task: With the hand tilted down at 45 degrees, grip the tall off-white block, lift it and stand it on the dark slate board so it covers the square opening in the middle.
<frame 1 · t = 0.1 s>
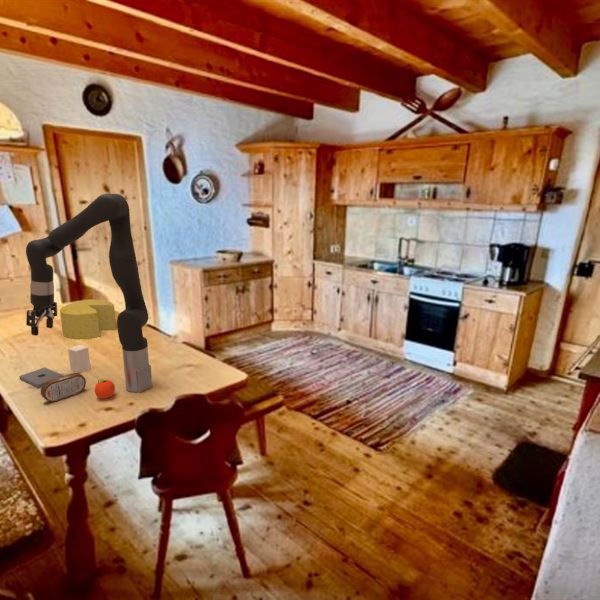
hand: (42, 331, 152), 22 cm above the table, tool pointing down, fingers open, 8 cm apart
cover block: (80, 369, 171), on the table
slate board: (42, 379, 161), on the table
cheese: (90, 331, 217), on the table
clementine: (105, 397, 150), on the table
tin: (65, 397, 148), on the table
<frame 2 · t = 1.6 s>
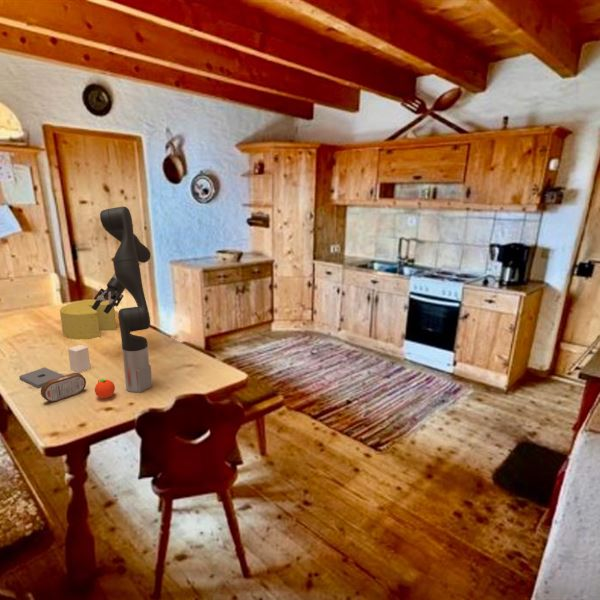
hand: (99, 310, 175), 24 cm above the table, tool tilted 45°, fingers open, 8 cm apart
nothing on the table moved.
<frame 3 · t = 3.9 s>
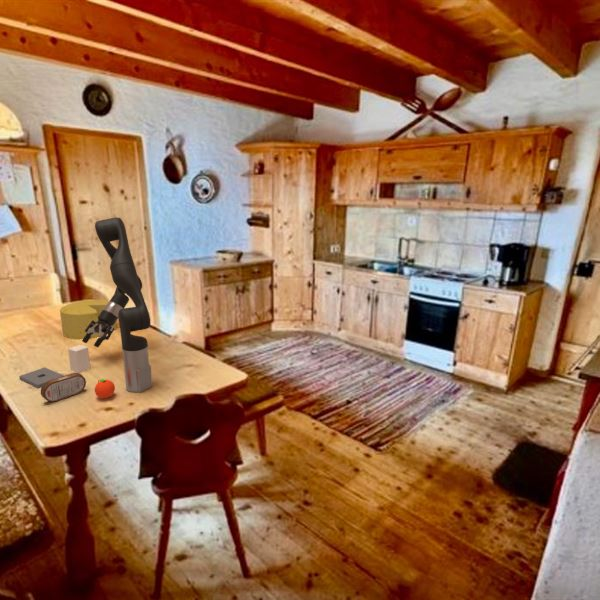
hand: (89, 344, 173), 10 cm above the table, tool tilted 45°, fingers open, 8 cm apart
nothing on the table moved.
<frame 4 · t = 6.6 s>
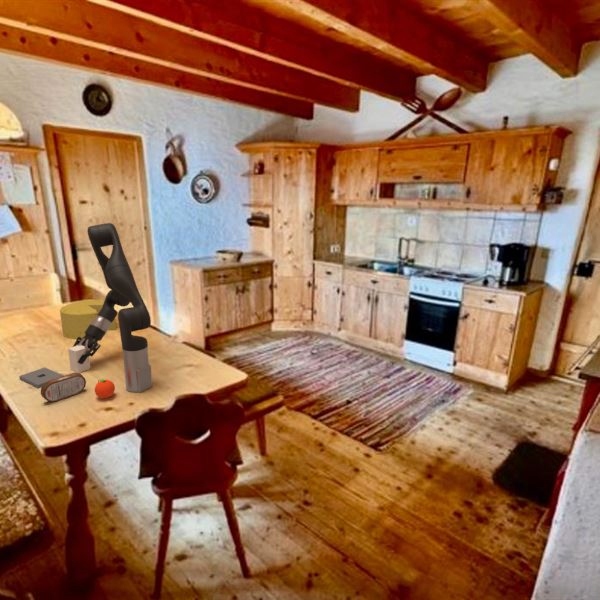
hand: (75, 361, 169), 4 cm above the table, tool tilted 45°, fingers closed on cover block, 5 cm apart
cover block: (80, 369, 171), on the table, touching gripper
everything else where it was.
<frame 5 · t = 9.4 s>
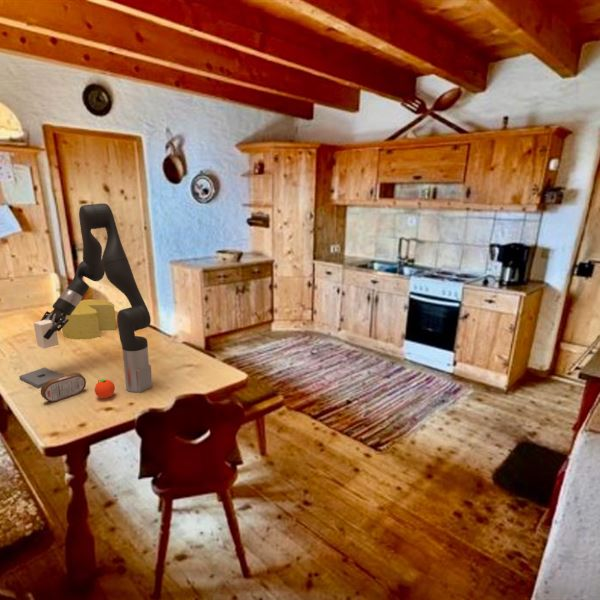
hand: (41, 336, 158), 18 cm above the table, tool tilted 45°, fingers closed on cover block, 5 cm apart
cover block: (48, 345, 161), point 14 cm above the table, touching gripper
everything else where it was.
when the fingers open (7 cm above the table, at t = 12.7 s): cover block drops 1 cm, resting on slate board.
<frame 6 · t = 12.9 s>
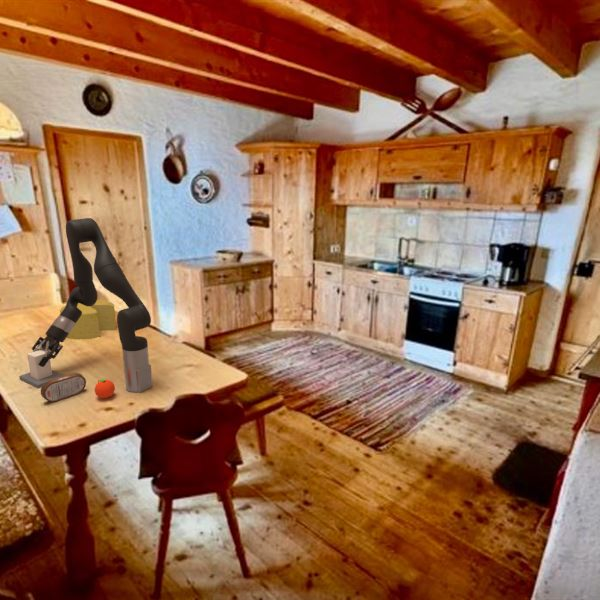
hand: (35, 363, 158), 7 cm above the table, tool tilted 45°, fingers open, 7 cm apart
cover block: (41, 375, 161), point 2 cm above the table, touching slate board
everything else where it was.
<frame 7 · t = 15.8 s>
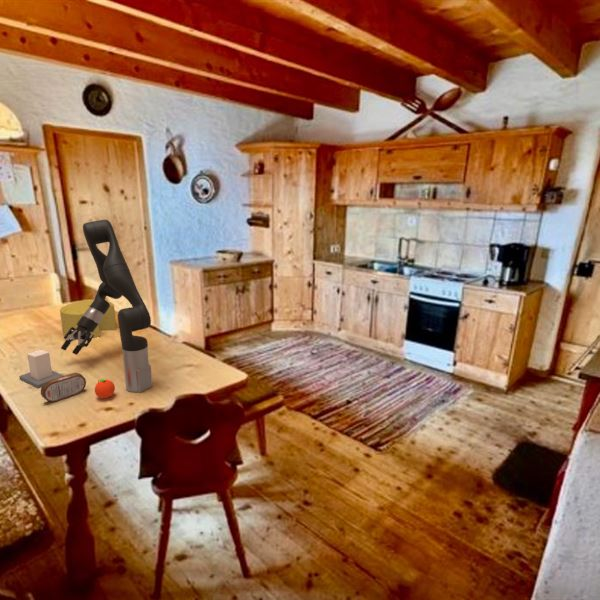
hand: (68, 351, 169), 8 cm above the table, tool tilted 45°, fingers open, 8 cm apart
nothing on the table moved.
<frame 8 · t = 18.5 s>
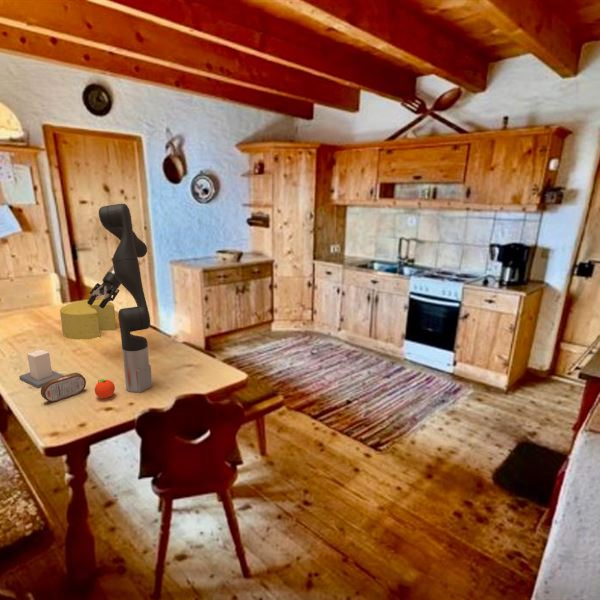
hand: (94, 305, 172), 27 cm above the table, tool tilted 45°, fingers open, 8 cm apart
nothing on the table moved.
at the end: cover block 0.1 cm off-centre on the slate board, point 1.5 cm above the slate board's base; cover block tilted 0°; the gripper is holding nothing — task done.
